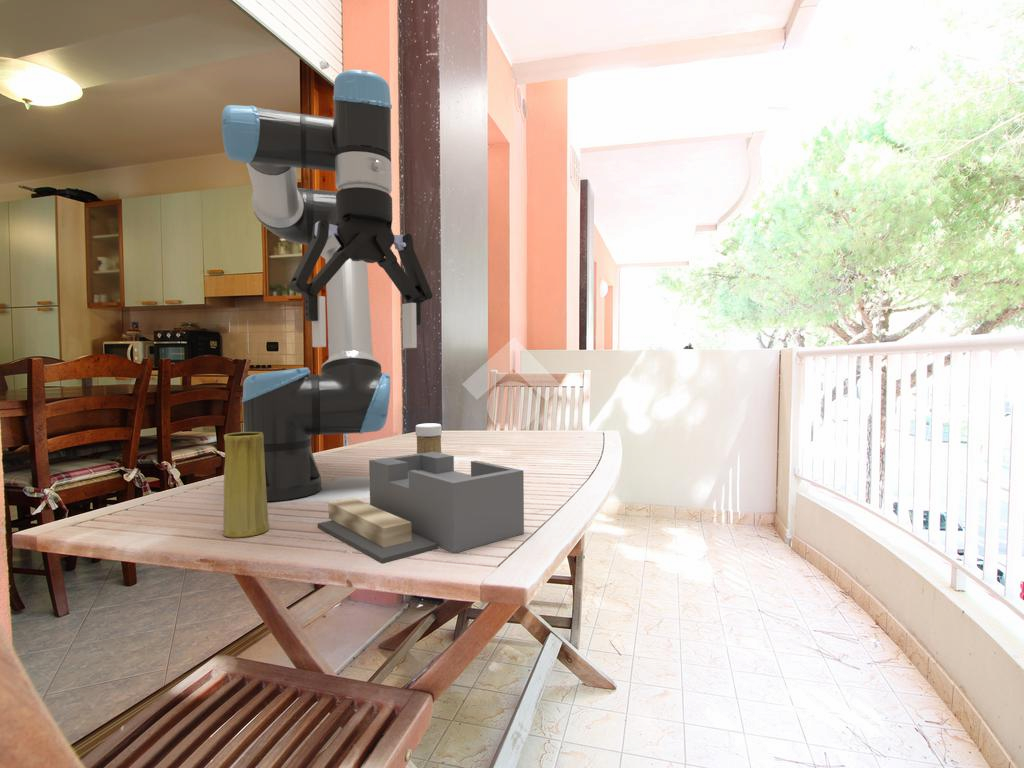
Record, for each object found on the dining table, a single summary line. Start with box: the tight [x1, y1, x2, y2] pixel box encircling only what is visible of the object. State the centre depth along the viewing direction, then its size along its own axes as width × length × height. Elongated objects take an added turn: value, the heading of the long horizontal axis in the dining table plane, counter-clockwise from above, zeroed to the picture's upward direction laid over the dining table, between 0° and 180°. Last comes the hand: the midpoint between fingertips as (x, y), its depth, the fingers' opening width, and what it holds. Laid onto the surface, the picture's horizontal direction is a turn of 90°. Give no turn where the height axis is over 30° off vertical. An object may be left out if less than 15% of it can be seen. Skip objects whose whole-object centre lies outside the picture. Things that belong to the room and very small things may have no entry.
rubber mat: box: [317, 520, 439, 564], centre depth 78 cm, size 20×8×1 cm, turn 41°
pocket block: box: [368, 452, 525, 554], centre depth 83 cm, size 23×12×9 cm, turn 41°
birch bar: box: [328, 497, 412, 548], centre depth 80 cm, size 18×4×2 cm, turn 40°
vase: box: [222, 431, 270, 539], centre depth 81 cm, size 6×6×14 cm
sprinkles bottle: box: [415, 422, 443, 454], centre depth 99 cm, size 5×5×14 cm
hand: (367, 347), depth 78 cm, fingers open, 13 cm apart
